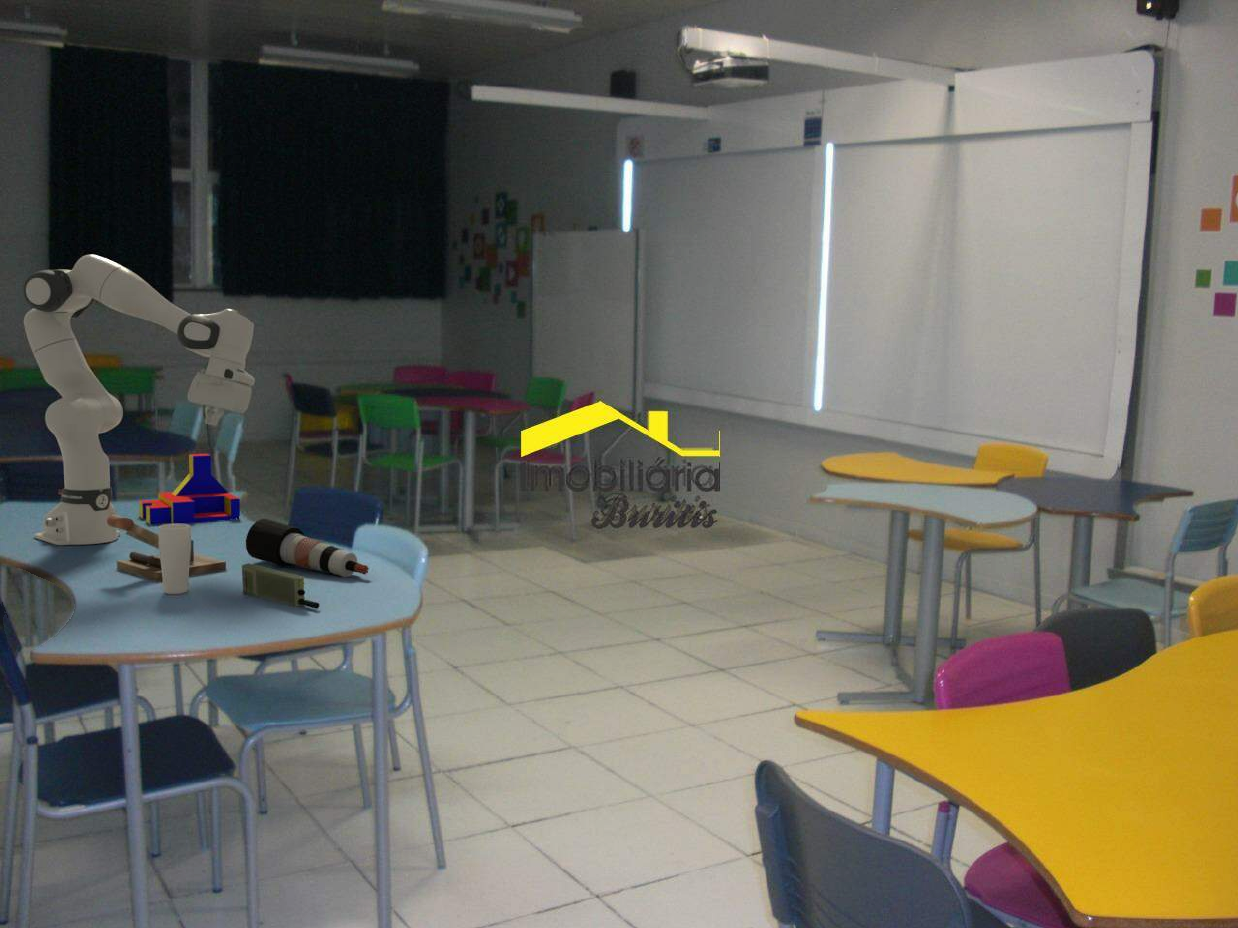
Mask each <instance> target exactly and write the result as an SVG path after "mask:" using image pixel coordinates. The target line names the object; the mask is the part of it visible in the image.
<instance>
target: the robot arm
mask: <svg viewBox="0 0 1238 928" xmlns="http://www.w3.org/2000/svg"><path fill="white" fill-rule="evenodd" d="M22 292H23V298H24V300H25V301H26V303H27V304H28V305H29V306H30V307H32V309H30V310H29V311H27V312H26V313H25V315H24V318H23V325H24V330H25V334H26V337H27V340H28V343H29V347H30V349H31V352H32V354H33V356H34V358H35V361H36V363H37V365H38V367H39V369H40V372H41V374H42V377H43V379H44V380H45V382H46V383H47V384H48V385H49V386H51V387H52V388H54V389H55V390H56V391H57V393H59V395H60V396H61V398H60V399H57V400H56V401H54V402H52V403H51V404H50V405H49V406H48V407H47V409H46V411H45V415H44V420H45V424H46V427H47V428H48V430H49V431H50V432H51V433H52V435H54V436H55V438H56V440H57V444H58V447H59V450H60V452H61V456H62V462H63V463H62V464H63V475H64V476H63V479H64V487H63V488H62V489H59V490H57V491H58V495H61V496H60V499H59V501H60V502H59V503H58V504H57V505H55V506H54V508H52V509H51V510H50V511H48V512H47V513H46V514H45V516H44V520H43V531H42V530H41V531H39V532H36V533H34V535H33V538H35V539H37V540H41V541H42V542H43V541H44V542H47V543H50V544H52V545H56V546H67V545H68V546H70V545H79V546H80V545H95V544H97V545H98V544H104V543H111V542H114V541H116V540H118V539H119V536H121V530H118V528H115V527H111V526H109V525H108V523H107V519H108V517H109V516H111V515H116V511H115V510H116V509H115V507H114V505H113V504H112V502H111V501H112V500H113V488H112V487H111V486H110V485H111V483H110V482H111V479H110V477H111V474H110V458H109V456H108V455H107V454H106V453H105V452H104V450H103V448H102V445H101V442H100V438H99V434H103V433H108V432H109V431H111V430H112V429H114V428H115V427H117V426H118V425H119V424H120V423H121V421H122V419H123V416H124V413H123V412H124V411H123V406H122V404H121V401H119V400H118V399H117V397H115V396H114V395H112V394H111V393H109V392H108V391H107V389H106V388H105V387H104V385H103V383H101V382H100V380H99V379H98V378H97V376H96V375H95V374H94V372H93V371H92V370H91V368H90V366H89V363H87V362H88V361H87V360H86V358H85V356H84V354H83V351H82V349H81V347H80V345H79V342H78V340H77V338H76V336H75V333H74V332H73V330H72V329H73V328H72V327H71V318H78V317H79V316H81V315H82V313H84V312H85V311H87V310H88V309H89V308H90V307H92V306H94V304H95V303H96V302H99V303H100V304H102V305H104V306H106V307H107V308H110V309H112V310H114V311H116V312H119V313H122V314H125V315H128V316H131V317H135V318H138V319H141V320H145V321H148V322H152V323H155V324H158V325H160V326H162V327H165V328H166V329H168V330H169V331H171V332H173V333H175V334H176V337H177V338H178V339H177V340H178V341H179V343H180V345H182V346H183V347H184V348H185V349H187V350H188V351H191V352H193V353H195V354H198V355H200V356H201V357H203V358H205V359H207V360H208V364H207V367H206V368H201V369H200V370H199V371H198V372H196V375H195V376H194V377H193V379H192V382H191V384H190V387H189V390H188V393H187V396H186V397H187V401H188V402H190V403H195V404H196V405H197V404H198V405H202V406H204V407H205V408H204V414H205V419H204V424H205V425H206V424H207V425H210V426H214V427H217V426H218V424H219V420H220V419H221V418H222V417H223V416H224V414H225V411H230V412H233V413H239V414H245V413H246V412H247V411H248V408H249V406H250V405H249V404H250V401H251V398H252V387H253V386H254V385H255V381H256V379H255V377H253V375H251V374H249V373H248V372H247V371H246V370H245V368H246V358H247V355H248V353H249V351H250V348H251V345H252V341H253V337H254V336H253V335H254V329H255V325H254V321H253V319H252V318H251V317H250V316H248V315H246V314H244V313H242V312H240V311H238V310H235V309H232V308H225V309H223V310H220V311H218V312H213V313H208V314H205V313H204V314H203V313H201V314H191V313H189V312H187V311H185V310H183V309H181V308H180V307H178V306H177V305H175V304H174V303H172V302H170V301H169V300H168V299H166V298H165V297H164V296H163V295H162V294H160V293H159V292H158V290H156V289H155V288H153V286H151V285H150V284H149V283H148V282H147V281H146V280H145V279H143V278H142V277H141V276H139V275H138V274H137V273H135V272H133V271H132V270H130V269H129V268H127V267H126V266H123V265H121V264H120V263H117V262H115V261H114V260H110V259H108V258H107V257H104V256H100V255H97V254H86V255H83V256H81V257H80V258H78V260H77V261H76V263H75V264H74V265H73V268H72V269H63V268H62V269H61V268H58V269H43V270H40V271H39V270H38V271H36V272H33V273H32V274H30V275H28V276H27V278H26V279H25V281H24V282H23V287H22Z"/></svg>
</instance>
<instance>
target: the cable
mask: <svg viewBox="0 0 1238 928" xmlns="http://www.w3.org/2000/svg"><path fill="white" fill-rule="evenodd" d="M245 550H246V552H247V553H248V555H249V556H251V557H252V558H253V559H257V560H260V561H264V562H266V563H270V564H273V565H276V566H279V567H283V568H289V567H293V566H295V565H296V566H298V567H303V568H306V569H310V570H313V571H320V572H323V573H328V574H331V575H336V576H339V577H343V578H347V577H351V576H352V575H353V574H354V573H359V574H362V575H365V576H366V574H368V573H369V569H370V568H369V566H368V565H366V564H365V565H364V564H361V563H359V562H358V558H357V556H356V555H355V553H353V552H351V551H346V550H344V549H341V548H339V547H335V546H333V545H330V544H326V543H325V542H324V541H320V540H316V539H314V538H312V537H311V538H310V537H308V536H305V534H304V532H303V530H301V529H300V528H299V527H295V526H292V525H289V524H285V523H283V522H278V521H275V520H272V519H268V518H262V519H259V520H256V521H255V522H254V523H253V524H252V525H251V526H250V528H249V529H248V531H247V534H246V538H245ZM292 565H293V566H292ZM288 566H289V567H288ZM350 575H351V576H350ZM346 576H347V577H346Z"/></svg>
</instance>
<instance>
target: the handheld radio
mask: <svg viewBox="0 0 1238 928" xmlns="http://www.w3.org/2000/svg"><path fill="white" fill-rule="evenodd" d="M241 576H242V593H244V594H247V595H251V596H254V597H258V598H263V599H266V600H270V601H273V602H277V603H280V604H284V605H286V606H287V605H288V606H292V607H294V608H295V607H296V608H298V607H304V606H305V607H308V608H311V609H315V610H317V609H319V608H320V603H318V602H316V601H313V600H312V601H311V600H309V599H305V594H306V590H305V586H304V585H305V581H304V579H305V578H306V577H305V576H301V575H298V574H294V573H290V572H286V571H281V570H277V569H274V568H270V567H269V568H268V567H265V566H261V565H257V564H254V563H253V564H252V563H244V564H242V565H241Z"/></svg>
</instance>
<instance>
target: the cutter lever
mask: <svg viewBox="0 0 1238 928" xmlns="http://www.w3.org/2000/svg"><path fill="white" fill-rule="evenodd" d="M107 523H108V525H109V526H111V527H115V528H117V530H118V529H119V530H123V531H125V532H126V533H125V535H127V536H129V537H131V538H134V539H135V540H138V541H140V542H142V543H144V544H146V545H149V546H150V547H153V548H156V549H157V550H159V538H158V535H159V533H155V532H154V531H151V530H150V529H147V528H145V527H142V526H140V525H138V524H136V523H135V522H134V520H133V519H131V518H127V517H126V516H125V517H124V516H120V515H116V514H115V515H111V516H109V517H108V519H107Z"/></svg>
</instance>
